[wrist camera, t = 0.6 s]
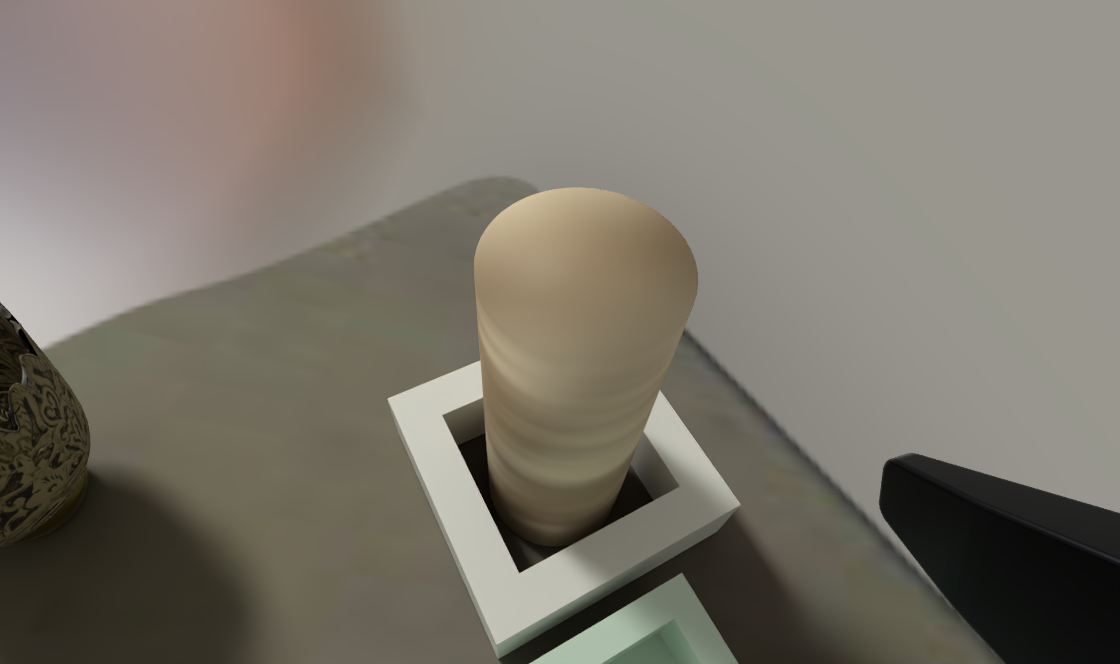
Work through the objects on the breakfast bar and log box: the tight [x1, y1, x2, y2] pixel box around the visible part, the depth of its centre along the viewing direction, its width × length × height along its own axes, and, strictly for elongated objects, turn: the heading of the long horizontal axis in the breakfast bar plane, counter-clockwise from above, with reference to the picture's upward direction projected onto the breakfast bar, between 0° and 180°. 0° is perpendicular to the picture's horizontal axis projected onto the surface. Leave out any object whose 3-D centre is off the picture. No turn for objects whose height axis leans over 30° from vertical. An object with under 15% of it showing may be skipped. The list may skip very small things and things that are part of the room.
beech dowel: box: [474, 188, 698, 547], centre depth 19 cm, size 5×5×13 cm
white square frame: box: [388, 361, 741, 659], centre depth 24 cm, size 9×9×3 cm
